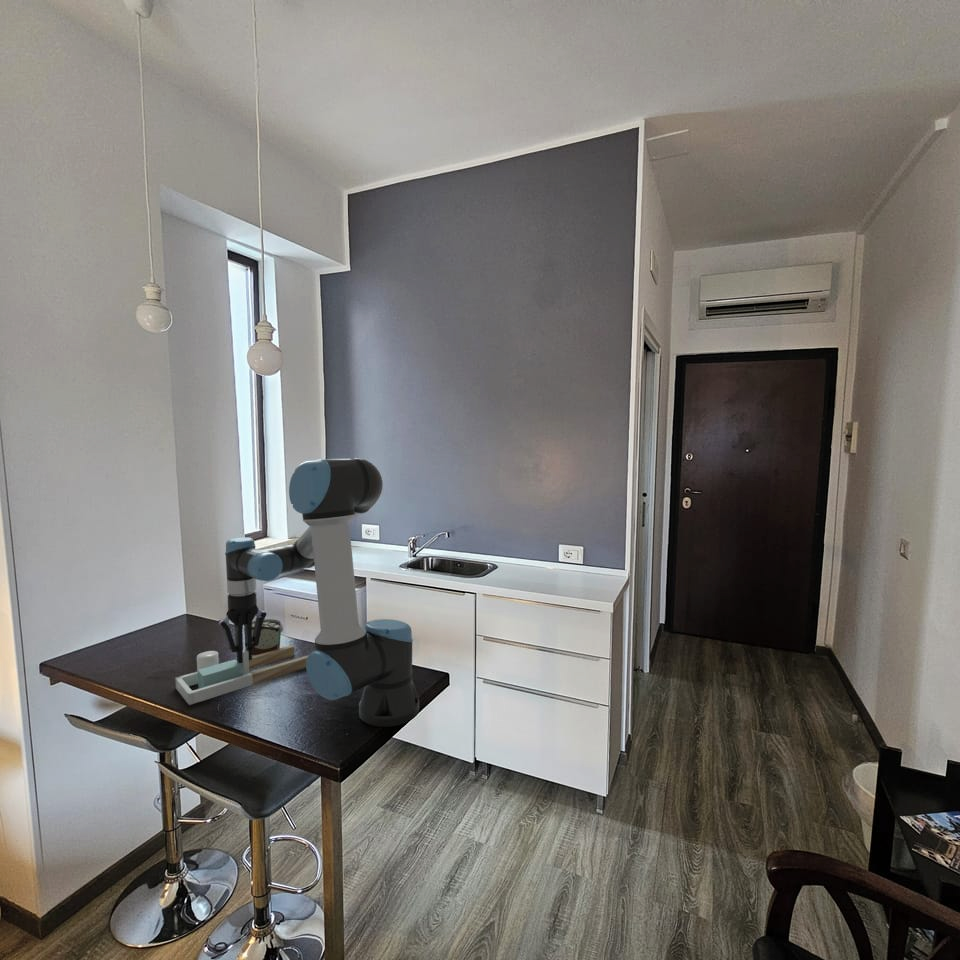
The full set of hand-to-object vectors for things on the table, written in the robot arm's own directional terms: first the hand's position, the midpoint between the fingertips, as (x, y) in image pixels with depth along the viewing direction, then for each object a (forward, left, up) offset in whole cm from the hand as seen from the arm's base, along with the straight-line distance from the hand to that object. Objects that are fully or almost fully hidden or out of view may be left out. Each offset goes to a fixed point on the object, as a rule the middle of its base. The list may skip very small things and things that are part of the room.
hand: (244, 672), depth 154 cm
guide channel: (0, -8, -2) cm, 8 cm away
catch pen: (0, +8, -2) cm, 8 cm away
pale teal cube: (0, +9, -2) cm, 9 cm away
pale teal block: (0, +4, -2) cm, 4 cm away
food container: (+13, -12, -2) cm, 18 cm away
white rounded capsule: (+9, +7, -2) cm, 11 cm away
